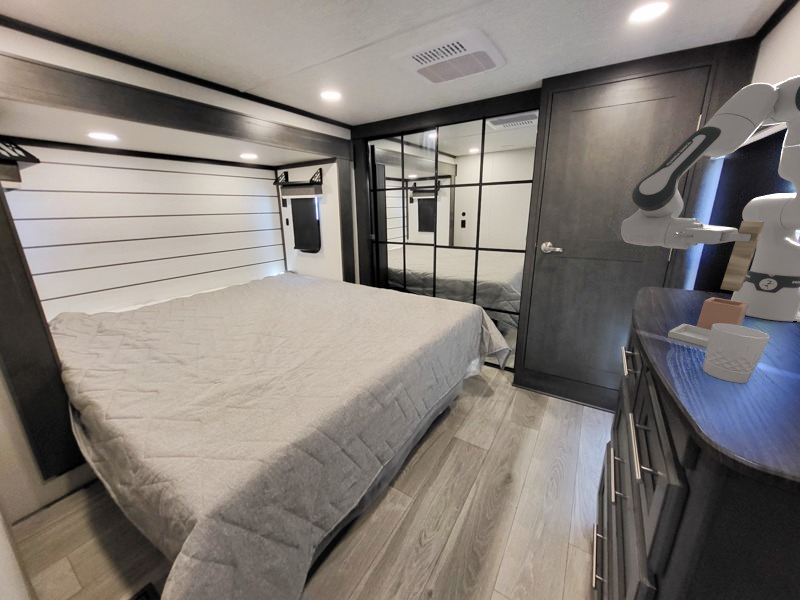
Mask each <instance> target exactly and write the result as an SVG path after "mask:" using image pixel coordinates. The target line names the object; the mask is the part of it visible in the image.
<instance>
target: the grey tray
mask: <svg viewBox="0 0 800 600" xmlns="http://www.w3.org/2000/svg"><path fill="white" fill-rule="evenodd" d="M696 326H697V325H696ZM696 326H695V325H691V324H688V323H687V324H686V323H682V324H680V325H678V326H675V328H672V329H670V330H668V334H667V336H666V341H670V342H673V343H677V344H681V345H684V346H686V347H687V346H688V347H690V348H694V349H697V350H698V349H699V350H702V351H705V352H706V349H707V344H708V340H709V336H710V333H711V330H709V329H705V328H700V327H696Z"/></svg>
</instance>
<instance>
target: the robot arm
mask: <svg viewBox="0 0 800 600" xmlns="http://www.w3.org/2000/svg"><path fill="white" fill-rule="evenodd" d="M784 123H785V126H786V128H787V130H786V133H785V136H784V140H783V143H782V149H781V154H780V160H779V164H778V169H777V172H778V175H779V177H780V178H782V179H784V180H785V181H788V182H790V183H791V184H792V185H793V187H794V189H795V192H789V193H773V194H767V195H763V196H758V197H755V198H753V199H751V200H750V201H749V202H747V204H746V205H745V206H744V208H743V210H742V215H741V217H742V219H743V220H742V221H761V222H764V225H763V228H762V231H761V234H760V237H759V240H758V242H757V245H756V248H755V251H754V255H753V259H752V264H751V265H750V270H749V269H748V272H747V275H746V278H745V281H744V284H743V287H742V289H741V290H740V291H733V293H732V296H731V299H730V300H732V301H738V302H744V303H749V306H748V309H747V311H746V314H745V316H748V317H753V318H756V319H757V318H758V319H764V320H772V321H780V322H793V321H797V322H796V323H800V289H799V288H800V241H799V240H798V239H797V235H796V233H797V232H796V231H800V74H799V75H797V76H793V77H789V78H787V79H786V80H784V81H780V82H778V83H775V84H774V85H773V84H771V83H766V82H756V83H752V84H748V85H746V86H743V88H741V89H740V90H738V91H737V92H736V93H735V94H734V95H732V96H731V97H730V98H729V99H728V100H727V101H726V102H724V104H723V105H722V106H721V107H720V108H719V109H718V110H717V111H716V112H715V114H713V115H712V117H711V118H710V119H708V121H707V122H706V124H705V125H704V126H703V127H701V128H699V129H698V130H696V131H695V132H693V133H692V134H690V135H689V137H687V138H686V139H685V140H684V142H683V143H682V144H680V146H678V148H676V149H675V150H674V151H673V152H672V153H671V154H670V155H669V156H668V157H667V158H666V160H664V162H663V163H662V164H661V165H659V166H658V167H657V168H656V169H655V170H654V171H652V172H650V174H648V175H647V176H646V177H643V178H642V179H641V180H640V181H639V182H638V183H637V184H636V185H635V187H634V189H632V190H633V191H632V194H631V198H632V202H634V204H635V205H636V206H637V207H638V209H637V210H636V212H634V213H633V214H632V215H631V216H629V217H628V218H627V217H626V218H625V219H624V220H622V223H621V224H620V227H619V232H620V237H621V239H622V240H623V241H624V242H625V243H627V244H631V245H637V246H644V247H645V246H646V247H654V246H657V247H659V246H660V247H663V248H665V249H667V248H668V249H678V250H679V249H680V250H688V249H690V248H691V247H692V246H695V247H696V246H698V244H702V245H705V244H706V245H717V244H723V243H729V242H736V241H750V240H751V237H752V235H751V234H739V233H738V232H739V228H736V227H729V226H721V225H713V224H705V223H704V222H701V221H699V220H698V218H695V217H693V218H692V217H691V218H689V217H687V218H686V217H680V216H681V214H682V212H683V210H684V200H683V198H682V196H681V194H680V192H679V189H678V186H679V181H680V179H681V178H682V177H683V176H684V174H685V173H687V172H688V171H689V170H690V169H691V167H693V166H694V165H695V164H696V163H697V162H698V161H699V160H700V159H701V158H702V157H704V156H705V157H709V158H719V157H724V156H728V155H731V154H732V153H734V152H735V151H737V150H738V149H739V148H740V147H741V146H743V145H744V144H745V143H747V141H748V140H749V139H750V137H751V136H752V135H753V134H754V133H755V132H756V131H757V129H759V128H763V127H767V126H772V125H777V124H780V125H781V124H784Z"/></svg>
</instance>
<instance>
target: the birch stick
mask: <svg viewBox="0 0 800 600" xmlns="http://www.w3.org/2000/svg"><path fill="white" fill-rule="evenodd" d="M763 225H764V222H761V221H744V220H741V223H740V226H739V228H738V233H739V234H751V235H752V237H751V240H750V241H734V242H735V243H734V245H733V249H732V251H731V254H730V258H729V262H728V263H727V267H726V270H725V272H724V277H723V280H722V282H721V285H720V290H725V291H733V292H734V291H740V290H741V289H742V287H743V284H744V282H745V278H746V275H747V273H748V271H749V268H750V267H751V262H752V261H753V258H754V255H755V252H756V246H757V242H758V240H759V237H760V234H761V231H762V228H763Z"/></svg>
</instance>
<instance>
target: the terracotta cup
mask: <svg viewBox="0 0 800 600" xmlns="http://www.w3.org/2000/svg"><path fill="white" fill-rule="evenodd" d="M748 306H749V303H744V302H738V301H732V300H731V299H725V298H719V297H713V296H712V297H710V298H707V299H705V300H704V301H703V304H702V307H701V311H700V314H699V316H698V320H697V324H696V327H700V328H705V329H709V330H711V329H712V325H713V324H717V323H723V324H733V325H739V326H743V322H744V320H745V318H746V317H745V316H746V315H745V314H746V311H747V309H748Z"/></svg>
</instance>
